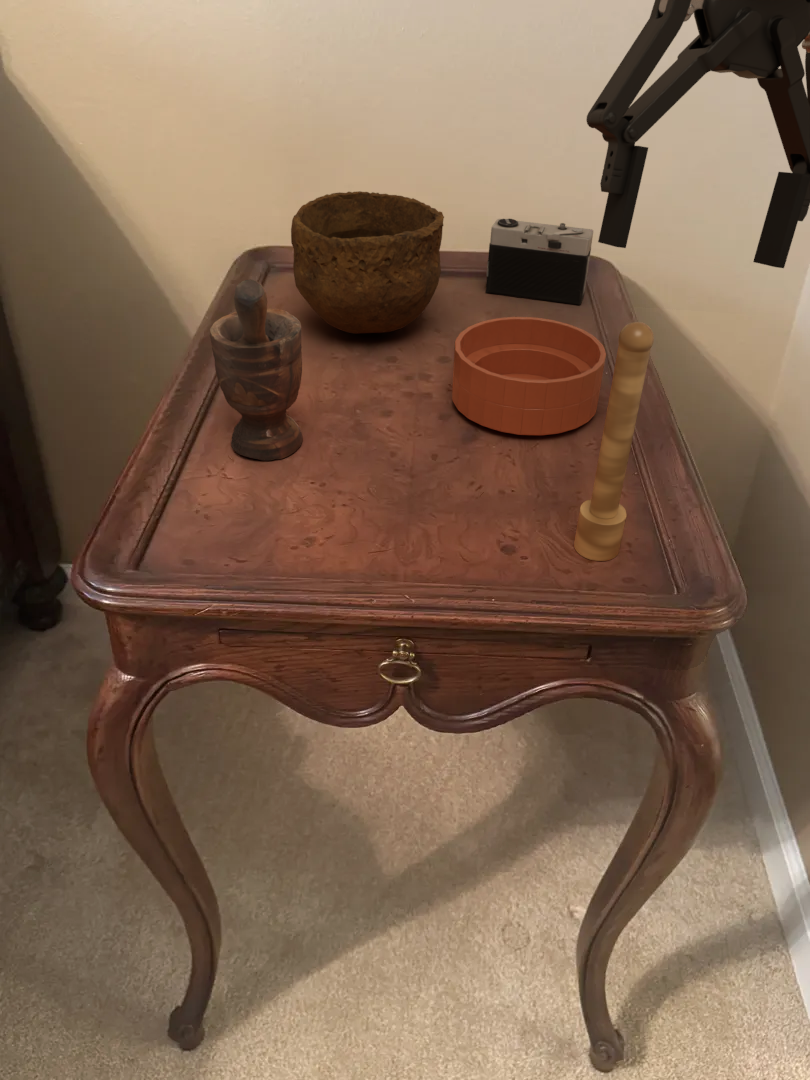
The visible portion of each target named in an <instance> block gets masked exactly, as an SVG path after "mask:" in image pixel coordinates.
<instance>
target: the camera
mask: <svg viewBox="0 0 810 1080" xmlns="http://www.w3.org/2000/svg"><path fill="white" fill-rule="evenodd" d="M490 228H491V229H490V241H489V245H488V255H487V257H488V259H487V265H486V274H485V275H486V283H485V293H486V294H492V295H499V296H506V297H514V298H521V299H530V300H536V301H544V302H550V303H551V302H552V303H558V304H559V303H560V304H567V305H574V306H581V305H582V303H583V300H584V297H585V293H586V287H587V286H586V285H587V279H588V273H589V267H590V261H591V260H590V259H591V251H592V244H593V237H594V230H593V229H591V228H584V227H575V226H567V225H566V223H564V222H561V223H559V225H558V224H557V225H556V224H548V223H539V222H531V221H524V220H517V219H513V218H496V220H495V221H494V223H493V225H492V226H491V227H490Z"/></svg>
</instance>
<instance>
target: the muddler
mask: <svg viewBox="0 0 810 1080" xmlns="http://www.w3.org/2000/svg"><path fill="white" fill-rule="evenodd" d="M654 340H655V338H654V332H653V330H652V329H651V327H650V326H649V325H648V324H646V323H644V322H642V321H634V322H630V323H628V324H626V325H625V326H624V327H623V328H621V330H620V332H619V335H618V338H617V341H618V346H617V351H616V357H615V363H614V369H613V374H612V380H611V386H610V391H609V397H608V403H607V408H606V412H605V418H604V419H605V420H604V425H603V429H602V430H603V431H602V437H601V442H600V448H599V454H598V460H597V464H596V470H595V475H594V481H593V486H592V492H591V497H590V499H587V500H585V501H583V503H581V504H580V507H579V513H578V518H577V524H576V531H575V536H574V541H573V548H574V549H575V551H576V552H577V554H578V555H580V556H581V557H583V558H585V559H587V560H589V561H594V562H607V561H610V560H613V559H615V558H616V557H617V556H618V555H619V553H620V548H621V544H622V538H623V535H624V530H625V525H626V520H627V510H626V508H625V507H624V506H623V505H622V504H621V503H620V502H621V497H622V492H623V487H624V482H625V478H626V472H627V468H628V463H629V458H630V452H631V448H632V444H633V439H634V433H635V429H636V424H637V418H638V413H639V408H640V403H641V399H642V394H643V388H644V384H645V379H646V374H647V369H648V364H649V359H650V354H651V351H652V347H653V345H654Z"/></svg>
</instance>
